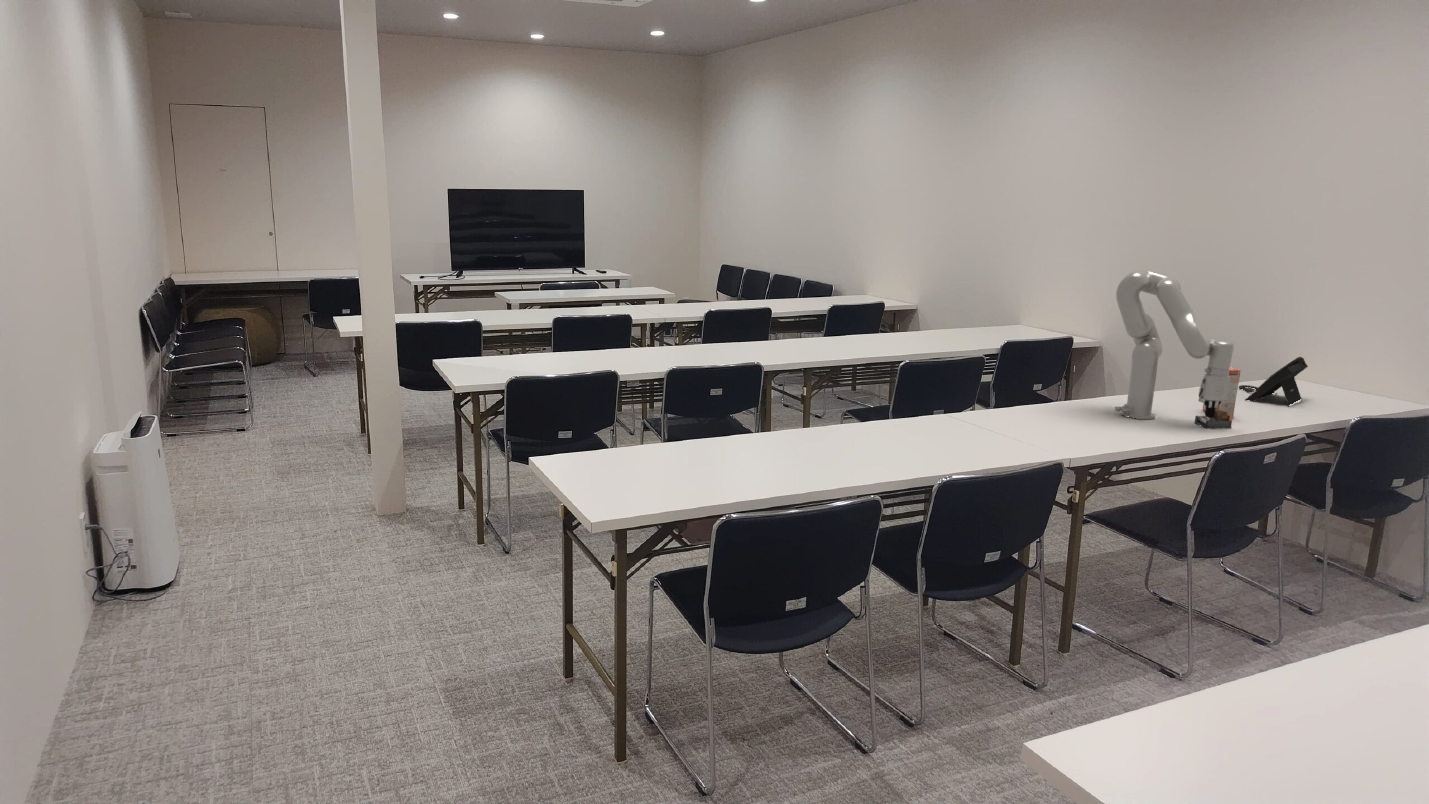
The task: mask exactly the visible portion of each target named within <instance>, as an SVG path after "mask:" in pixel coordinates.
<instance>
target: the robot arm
mask: <svg viewBox="0 0 1429 804" xmlns="http://www.w3.org/2000/svg"><path fill="white" fill-rule="evenodd" d="M1141 292H1144V293H1147V294H1150V295H1154V296H1156V298H1157V299H1158V301H1159V302H1160V304H1161V306H1162V307H1163V310H1164V312H1165V313H1166V315H1167V317H1168V318H1169V320H1170V322H1171V324H1172V327H1173V328H1174V330H1175V332H1176V335H1177V337H1178V338H1179V341H1180V343H1181V344H1182V346H1183V347H1184V350H1185V351H1186V352H1187V354H1188V355H1189V356H1191V357H1192V358H1194V359H1197V360H1198V359H1199V360H1200V359H1203V358H1205V357H1206V356H1209V358H1208V363H1207V368H1204V372H1205V373H1204V374H1203V377H1202V380H1201V383H1200V386H1199V391H1198V399H1197V400H1198V402H1200V403H1204V404H1205V406H1206V410H1205V412H1204V416H1207V417H1209V418H1213V416H1214V413H1215V408H1217V406H1218V405H1219V404H1221V403H1225V402H1226V401H1227V400H1228V398H1229V393H1230V376H1228V373H1229V368H1230V367H1231V362H1232V357H1233V353H1234V347H1235V345H1234V343H1233V342H1232V341H1229V340H1225V339H1224V340H1222V339H1213V338H1209V337H1205V336H1203V334H1202V333H1201V331H1200V329H1199V328H1198V325H1197V323H1196V319H1195V314H1194V310H1193V309H1192V307H1191V305H1190V304H1189V302H1188V301H1187V299H1186V296H1185V295H1184V293H1183V291H1182V287H1181V283H1180V282H1179V280H1177V279H1176V278H1174V277H1170V276H1166V275H1164V274H1163V275H1162V274H1160V273H1156V272H1153V271H1149V270H1144V269H1137V270H1135V271H1132V272H1130V273H1128V274H1127V275H1125V276H1124V278H1123V279H1122V280H1121V281H1120V282H1119V284H1118V285H1117V289H1116V292H1115V295H1116V297H1115V298H1116V302H1117V305H1118V309H1119V312H1120V315H1121V319H1122V321H1123V325H1124V327H1125V330H1126V331H1125V332H1126V333H1127V335H1128V336H1130V337H1131V338H1132V340H1133V341H1134V345H1135V346H1134V348H1133V350H1132V353H1131V354H1132V355H1131V365H1130V366H1131V367H1130V376H1129V378H1130V379H1129V383H1128V385H1129V386H1128V392H1127V393H1128V394H1127V401H1126V403H1124V405H1122V406H1118V405H1117V406H1115V407H1114V410H1115V411H1116V412H1121V415H1122V414H1123V415H1125V416H1124V417H1126V416H1129V417H1134V418H1136V419H1135V420H1144V419H1148V420H1153V419H1155V417H1156V414H1155V413H1153V411H1152V409H1153V404H1154V403H1153V402H1154V395H1155V387H1156V381H1157V373H1158V372H1157V371H1158V363H1159V357H1160V356H1161V355H1162V352H1163V345H1162V341H1161V339H1160V338H1161V337H1160V335H1159V332H1158V329H1157V327H1156V324H1155V321H1154V320H1153V318H1152V316H1151V315H1149V314H1147V313H1146V311H1145V309H1144V306H1143V303H1142V301H1141V298H1140V293H1141ZM1204 399H1205V400H1204ZM1123 415H1122V416H1123ZM1129 417H1128V418H1129ZM1134 418H1133V419H1134Z"/></svg>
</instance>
